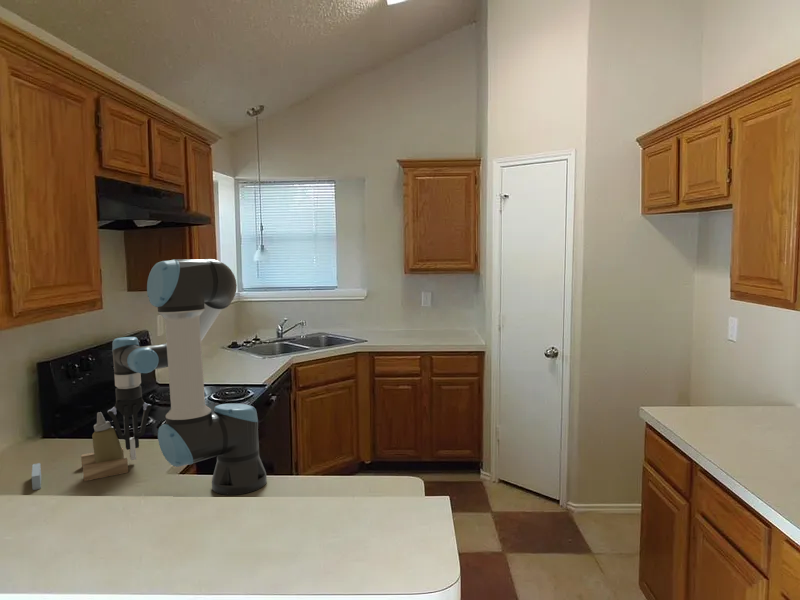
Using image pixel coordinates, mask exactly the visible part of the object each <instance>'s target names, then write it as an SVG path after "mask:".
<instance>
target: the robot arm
mask: <svg viewBox="0 0 800 600" xmlns="http://www.w3.org/2000/svg"><path fill="white" fill-rule="evenodd" d="M146 293H147V297H148V301H149V303H150V304H151V306H154V307H155V308H157V314H159V315H160V316H161V317H162V318H163V320H164V326H165V329H164V330H165V340H166V341H165V343H161V344H159V343H158V344H151V345H144V346H140V343H139V339H138V338H137V337H136V336H124V337H116V338H114V340H113V339H112V348H111V349H112V350H111V352H112V360H113V370H114V371H113V372H114V373H113V374H114V386H115V387H116V388H115V389H114V390H115V403H114V406H113V407H112V408H110V409H108V410H107V414H108V416H109V417H111V419H112V421H113V424H114V427H115V428H114V429H115V431H116V434H117V436H118V439H119V440H124V442H125V443H124V445H125V449H126V450H127V451H128V450H129V458H130V460H131V461H134V460H137V454H136V453H137V451H136V449H139V447H140V441H139V440H140V437H142V436H144V435H145V433H146V429H147V423H148V418H149V413H150V412H151V409H152V408H153V407H152V404H150V403H146V402H145V400H144V399H143V392H142V391H143V390H142V388H143V387H142V386H141V384H142V377H141V375H142V374H148V373H151V372H153V371H154V370H158V369H159V370H160V369H165V368H167V369H168V382H169V397H170V398H169V399H170V409H169V411H168V412H167V413H166V414H165V423H163V424H162V425H160V426H159V427H158V429H157V430H158V431H157V440H158V441H157V442H158V446H159V448H160V450H161V453H162V455H163V457H164V458H165V460H166V462H168V463H169V464H170V465H171V466H173V467H175V468H176V467H177V468H178V467H184V466H187V465H189V466H190V465H193V464H195V463H198V462H202V461H205V460H208V459H211V458H215V457H216V464H215V467H214V471H213V474H212V475H213V476H212V478H211V489H212V491H213V492H214V493H216V494H220V495H224V496H236V495H244V494H248V493H252V492H255V491H258V490H259V489H261V488H263V487H264V486H265V485H267V480H268V479H267V472H266V469H265V467H264V464H263V462H262V458H261V457H260V447H259V446H260V445H259V430H258V429H259V419H258V413H257V408H255V407H254V406H252V405H250V404H245V403H222V404H217V405H215V406H214V407H213V412H212V409H211V408H210V407H209V406H207V405H206V399H205V398H206V397H205V382H204V369H203V367H204V366H203V355H202V350H203V349H202V341H203V339H205V337H206V335H207V333H208V332H209V330H210V329H211V327H212V326H213V324H214V323H215V321H216V320H217V318H218V317H219V315H220V314H221V312H222V311H223V310H225V309H226V308H228V307H229V306H231V303H232V302H233V300H234V298H235V296H236V293H237V279H236V276H235V273H233V270H232V269H231V268H230V267H229V266H228V265H227V264H225V263H224V262H222V261H220V260H217V259H213V258H205V259H171V260H169V259H168V260H162V261H159V262H156V263H155V264H154V265H153V267H152V268H151V270H150V272H149V275H148V277H147V283H146ZM141 409H143V413H142V417H141V422H140V423H141V424H140V427H139V422H138V413H139V412H140V411H141ZM117 411H118V412H119V413H120V414H121V415H122V417H123V428H124V429H123V430H124V433H123V432H122V429H121V427H120V424H119V421H118V418H117V416H116V415H117ZM129 416H131V417H132V418H131V419H132V430H133V437H131V435H130V434H131V433H130V424H129V423H130V421H129V420H130V419H129Z"/></svg>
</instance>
